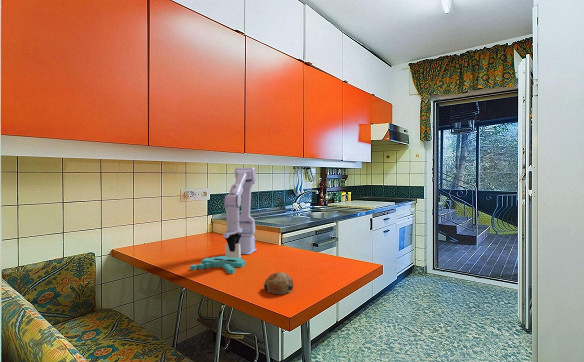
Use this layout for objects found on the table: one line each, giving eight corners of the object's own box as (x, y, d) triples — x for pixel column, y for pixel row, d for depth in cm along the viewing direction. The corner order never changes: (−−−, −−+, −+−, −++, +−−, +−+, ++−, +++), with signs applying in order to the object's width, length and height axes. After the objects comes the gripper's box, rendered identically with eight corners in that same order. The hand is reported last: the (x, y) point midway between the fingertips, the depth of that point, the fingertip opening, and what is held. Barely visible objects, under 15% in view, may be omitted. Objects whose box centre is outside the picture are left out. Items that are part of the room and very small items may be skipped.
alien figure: (232, 275, 131) (251, 261, 151) (232, 269, 131) (251, 256, 150) (190, 271, 137) (213, 258, 156) (190, 266, 137) (213, 254, 156)
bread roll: (281, 306, 108) (290, 287, 107) (256, 290, 111) (265, 271, 110) (292, 295, 117) (300, 277, 116) (269, 281, 121) (277, 263, 119)
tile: (227, 256, 147) (226, 243, 147) (240, 257, 145) (240, 243, 145) (225, 257, 145) (224, 244, 145) (239, 257, 143) (238, 244, 143)
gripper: (232, 224, 136) (233, 255, 137) (248, 219, 150) (248, 247, 151) (218, 223, 139) (219, 254, 139) (234, 218, 152) (235, 246, 153)
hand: (233, 250), depth 145 cm, fingers closed on tile, 2 cm apart
